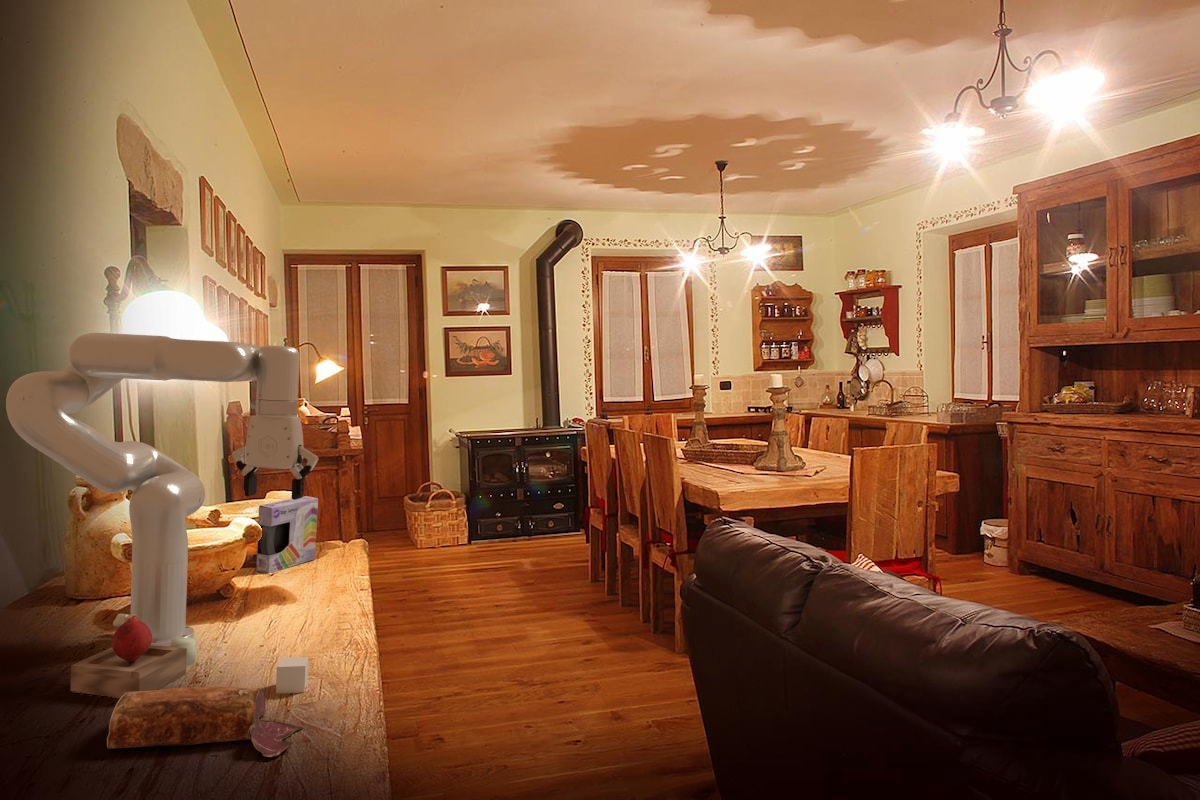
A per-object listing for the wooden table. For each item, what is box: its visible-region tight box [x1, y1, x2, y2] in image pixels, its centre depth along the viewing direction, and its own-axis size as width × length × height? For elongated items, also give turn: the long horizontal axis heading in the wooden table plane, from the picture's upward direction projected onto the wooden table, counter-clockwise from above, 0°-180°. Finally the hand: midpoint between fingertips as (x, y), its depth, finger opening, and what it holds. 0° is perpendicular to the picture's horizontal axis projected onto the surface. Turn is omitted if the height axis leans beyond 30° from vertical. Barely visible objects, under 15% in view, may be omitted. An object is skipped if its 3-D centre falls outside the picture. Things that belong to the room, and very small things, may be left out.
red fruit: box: [111, 614, 152, 663], centre depth 140 cm, size 6×6×8 cm
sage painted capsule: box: [170, 637, 197, 667], centre depth 150 cm, size 4×4×4 cm
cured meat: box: [106, 686, 305, 758], centre depth 122 cm, size 18×25×7 cm
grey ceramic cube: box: [275, 656, 310, 694], centre depth 141 cm, size 4×4×4 cm
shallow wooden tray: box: [69, 645, 187, 699], centre depth 140 cm, size 12×12×4 cm
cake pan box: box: [255, 495, 319, 574], centre depth 224 cm, size 19×5×18 cm, turn 159°
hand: (273, 496), depth 163 cm, fingers open, 9 cm apart
